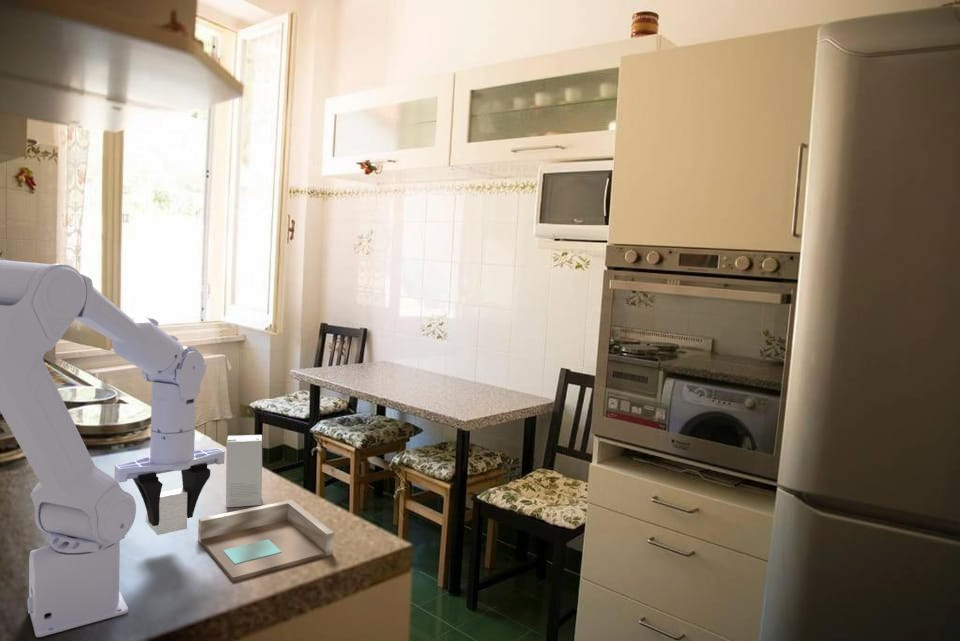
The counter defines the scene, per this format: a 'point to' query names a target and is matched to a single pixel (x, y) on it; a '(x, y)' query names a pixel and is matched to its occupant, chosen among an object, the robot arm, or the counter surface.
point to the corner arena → (264, 539)
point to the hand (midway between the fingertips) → (170, 519)
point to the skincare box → (244, 470)
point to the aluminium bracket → (171, 512)
